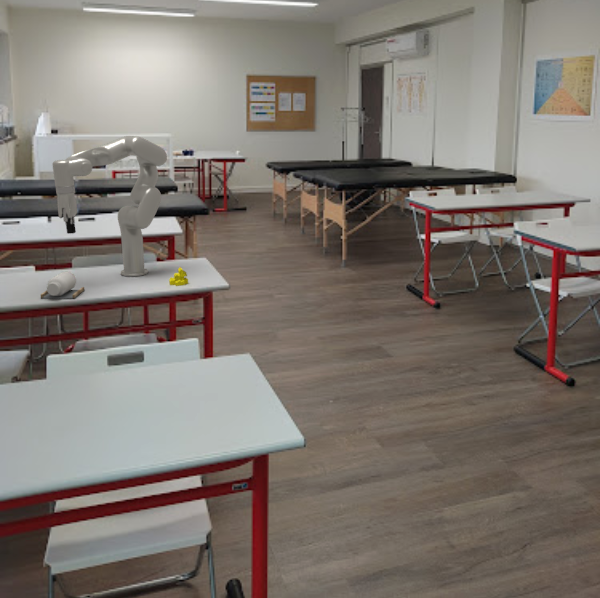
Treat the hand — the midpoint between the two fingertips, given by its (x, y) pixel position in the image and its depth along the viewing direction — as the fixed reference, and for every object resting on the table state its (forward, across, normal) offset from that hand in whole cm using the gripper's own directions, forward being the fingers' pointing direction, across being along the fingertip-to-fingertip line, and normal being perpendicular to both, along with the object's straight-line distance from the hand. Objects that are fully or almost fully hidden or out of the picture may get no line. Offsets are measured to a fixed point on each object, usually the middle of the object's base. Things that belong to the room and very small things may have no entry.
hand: (71, 232), depth 291 cm
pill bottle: (+19, +8, -1) cm, 20 cm away
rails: (+23, +15, -1) cm, 27 cm away
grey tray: (+23, +15, -1) cm, 27 cm away
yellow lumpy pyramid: (+25, -3, +43) cm, 50 cm away
